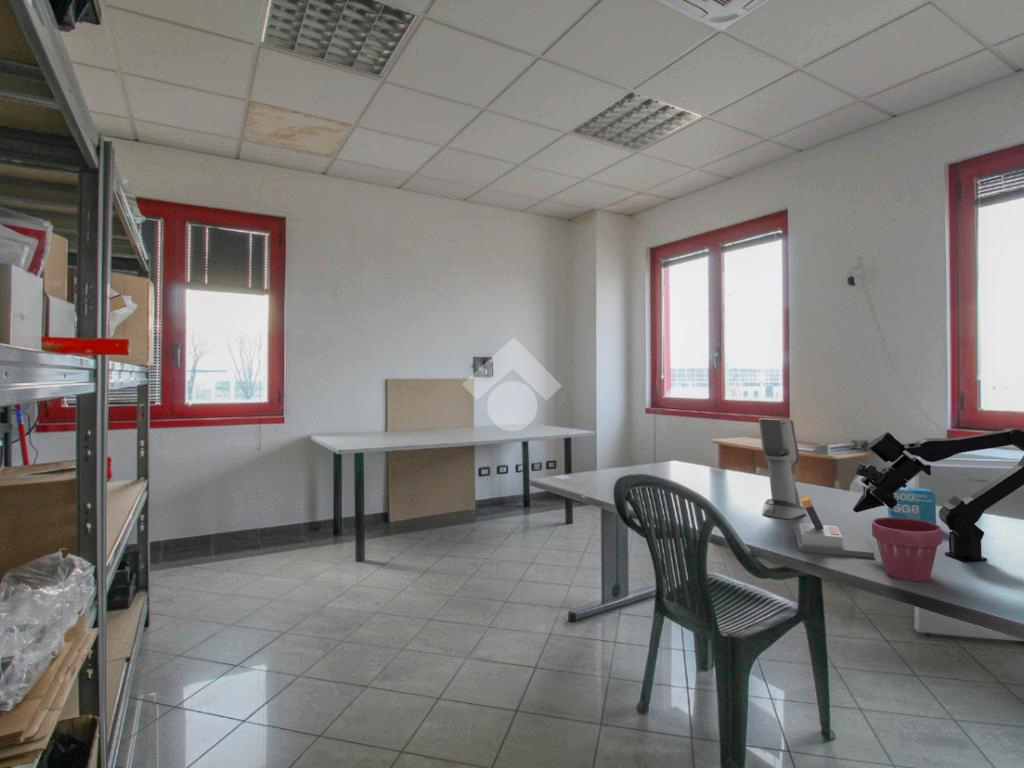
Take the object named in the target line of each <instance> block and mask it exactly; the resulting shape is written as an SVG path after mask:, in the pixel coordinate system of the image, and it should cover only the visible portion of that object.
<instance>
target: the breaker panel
mask: <svg viewBox="0 0 1024 768" xmlns="http://www.w3.org/2000/svg"><path fill="white" fill-rule="evenodd" d="M798 524H799V527H798V528H799V529H798V530H795V531H794V532H795V540H796V544H797V547H798V552H799V553H800V552H803V553H813V554H822V555H823V554H825V555H833V556H834V555H835V556H846V557H857V558H868V559H875V553H874V551H873V549H872V548H871V546H870V545H869V543H868V542H867V540H866V538H865V536H863V535H851V534H849V535H848V534H841V532H840V530H839V527H838V526H837V525H825V524H822V526H823V528H824V529H822V530H818V531H816V529H815V527H814V525H813V523H798Z"/></svg>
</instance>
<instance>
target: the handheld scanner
mask: <svg viewBox="0 0 1024 768" xmlns="http://www.w3.org/2000/svg"><path fill="white" fill-rule="evenodd" d="M758 424H759V431H760V440H761V442H760V443H761V447H762V451H763V454H764V456H765V459H766V461H767V464H768V473H769V485H770V486H769V487H770V495H771V498H767V500H765V502H764V504H763V507H762V512H761V514H762V515H763V516H765V515H766V516H765V517H770V518H775V519H780V520H793V519H797V518H799V517H802V516H804V515H806V514H807V511H806V509H805V507H804V506H801V502H800V501H801V500H800V496H799V492H798V488H797V484H796V482H795V481H796V480H795V478H794V477H795V476H794V473H793V467H794V466H795V465H797V464H798V463H799V461H800V453H799V448H798V442H797V437H796V430H795V425H794V420H792V419H786V418H765V417H764V418H763V417H759V418H758Z"/></svg>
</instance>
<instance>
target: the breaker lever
mask: <svg viewBox="0 0 1024 768" xmlns="http://www.w3.org/2000/svg"><path fill="white" fill-rule="evenodd" d="M799 499H800V501H801V503H802V505H803V508H804V509H805V510H806V514H807V515H808V516H809V518H810V521H811V524H813V525H814V527H815V529H816V531H818V530H822V529H824V528H823V526H822V525H823V522H822V521H821V519H820V517H819V515H818V513H817V511H816V509H815V508H814V505H813V503H812V501H811V499H810V496H809V495H808V494H804V495H801V496H799Z"/></svg>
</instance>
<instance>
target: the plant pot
mask: <svg viewBox="0 0 1024 768" xmlns="http://www.w3.org/2000/svg"><path fill="white" fill-rule="evenodd" d="M871 535H872V537H874V539H876V542H877V547H878V551H879V555H880V558H881V562H882V565H883V569H884V571H885V573H886V574H887V575H889V576H890V577H893V578H896V579H899V580H903V581H904V580H905V581H911V582H912V581H913V582H926V581H929V580H930V579H931V575H932V572H933V567H934V563H935V559H936V554H937V550H938V546H940V545H941V544H942V542H943V535H942V527H941V526H940V525H938V524H937V523H936V524H934V523H931V522H927V521H922V520H917V519H909V518H892V517H889V518H888V517H878V518H874V519H872V521H871Z"/></svg>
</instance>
